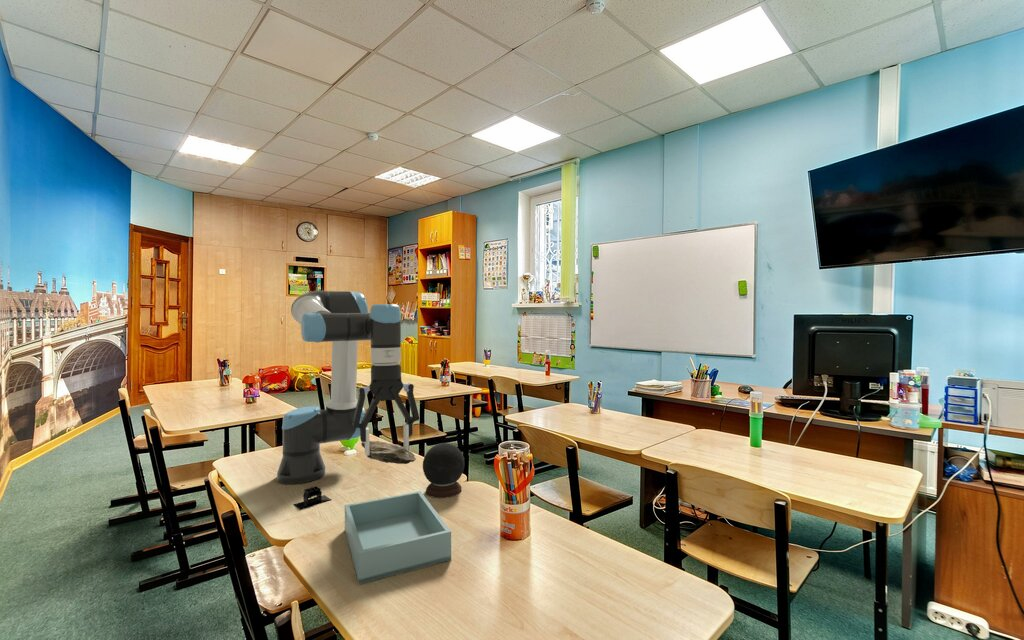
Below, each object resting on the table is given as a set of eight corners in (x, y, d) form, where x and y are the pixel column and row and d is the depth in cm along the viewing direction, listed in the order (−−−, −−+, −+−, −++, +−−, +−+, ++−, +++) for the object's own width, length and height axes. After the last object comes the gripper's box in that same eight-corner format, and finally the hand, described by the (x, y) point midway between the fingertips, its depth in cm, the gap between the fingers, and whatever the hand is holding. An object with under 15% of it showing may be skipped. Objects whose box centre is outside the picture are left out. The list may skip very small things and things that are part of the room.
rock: (428, 455, 116) (428, 441, 116) (406, 468, 106) (406, 453, 106) (369, 449, 122) (369, 436, 122) (343, 461, 112) (343, 447, 112)
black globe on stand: (414, 495, 136) (414, 447, 136) (437, 480, 148) (436, 436, 148) (451, 502, 131) (451, 452, 131) (471, 486, 143) (471, 440, 143)
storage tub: (344, 530, 114) (344, 505, 114) (420, 514, 123) (420, 491, 123) (358, 584, 90) (358, 553, 90) (451, 559, 100) (451, 531, 100)
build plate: (295, 514, 124) (295, 498, 124) (285, 506, 129) (285, 491, 129) (338, 501, 133) (338, 486, 133) (327, 494, 138) (327, 480, 138)
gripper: (342, 367, 105) (343, 461, 105) (431, 362, 115) (432, 448, 115) (339, 365, 111) (340, 453, 111) (423, 360, 121) (424, 442, 121)
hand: (387, 451), depth 113 cm, fingers closed on rock, 9 cm apart
